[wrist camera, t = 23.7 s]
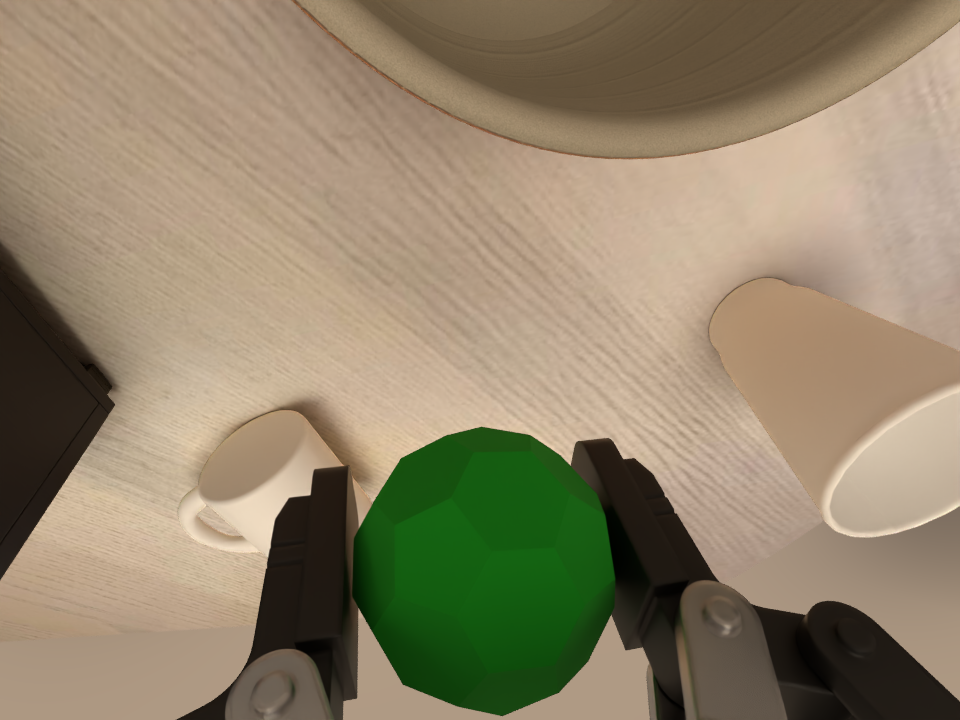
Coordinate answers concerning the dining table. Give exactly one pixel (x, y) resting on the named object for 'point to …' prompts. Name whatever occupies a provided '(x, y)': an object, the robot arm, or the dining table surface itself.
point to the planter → (632, 63)
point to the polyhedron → (485, 570)
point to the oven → (39, 417)
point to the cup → (847, 403)
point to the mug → (258, 481)
